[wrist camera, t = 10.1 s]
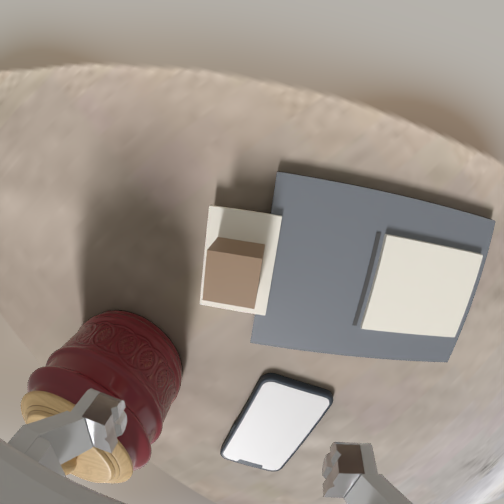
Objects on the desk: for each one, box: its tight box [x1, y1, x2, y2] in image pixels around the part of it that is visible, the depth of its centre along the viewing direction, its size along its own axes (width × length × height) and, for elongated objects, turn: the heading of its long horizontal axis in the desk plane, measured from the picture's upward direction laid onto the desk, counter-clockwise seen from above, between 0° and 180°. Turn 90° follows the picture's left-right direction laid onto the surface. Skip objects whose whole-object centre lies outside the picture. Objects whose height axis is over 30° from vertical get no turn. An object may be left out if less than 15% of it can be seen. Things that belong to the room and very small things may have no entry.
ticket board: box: [250, 171, 495, 362], centre depth 28 cm, size 22×16×2 cm
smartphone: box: [220, 373, 333, 471], centre depth 34 cm, size 9×2×16 cm
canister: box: [21, 310, 182, 483], centre depth 25 cm, size 13×13×18 cm
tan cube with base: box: [200, 205, 282, 316], centre depth 26 cm, size 6×9×4 cm, turn 172°
